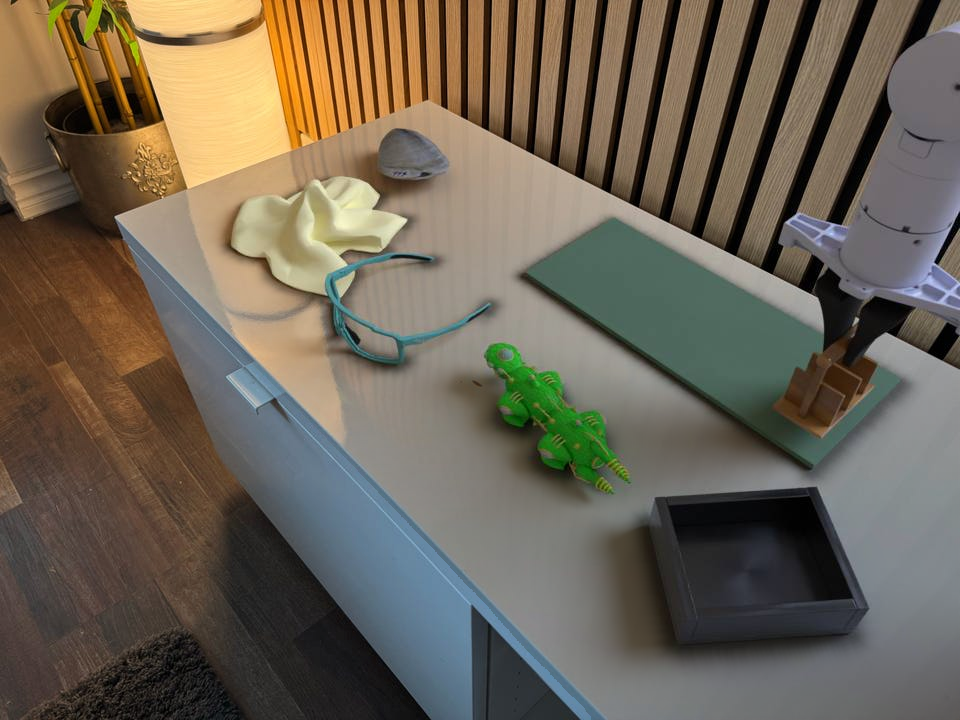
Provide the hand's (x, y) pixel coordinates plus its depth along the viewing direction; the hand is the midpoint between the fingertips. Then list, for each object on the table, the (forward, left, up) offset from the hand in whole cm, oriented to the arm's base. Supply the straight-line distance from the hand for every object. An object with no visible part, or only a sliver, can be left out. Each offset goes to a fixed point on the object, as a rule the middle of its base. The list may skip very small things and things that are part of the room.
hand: (842, 353), depth 59 cm
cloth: (+55, -6, -8) cm, 56 cm away
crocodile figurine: (+20, +10, -8) cm, 24 cm away
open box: (+2, +17, -8) cm, 19 cm away
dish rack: (0, 0, -5) cm, 5 cm away
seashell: (+51, -21, -8) cm, 56 cm away
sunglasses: (+39, +2, -8) cm, 40 cm away
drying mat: (+12, -8, -8) cm, 17 cm away
